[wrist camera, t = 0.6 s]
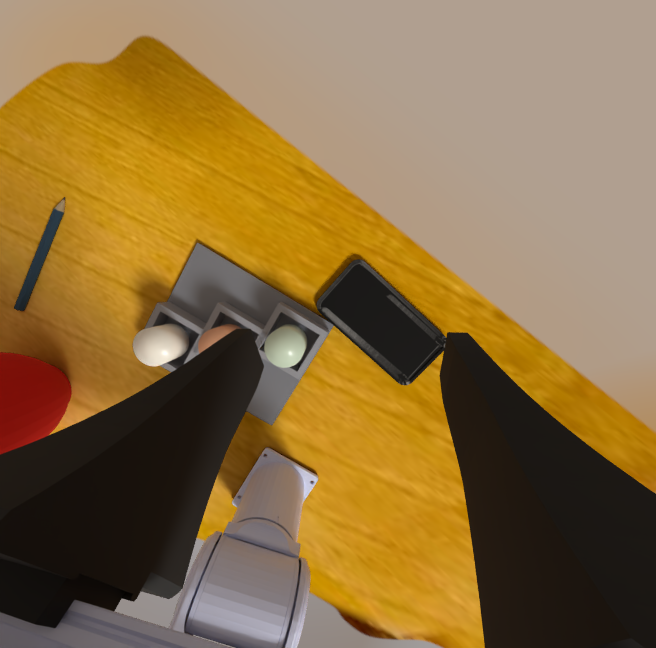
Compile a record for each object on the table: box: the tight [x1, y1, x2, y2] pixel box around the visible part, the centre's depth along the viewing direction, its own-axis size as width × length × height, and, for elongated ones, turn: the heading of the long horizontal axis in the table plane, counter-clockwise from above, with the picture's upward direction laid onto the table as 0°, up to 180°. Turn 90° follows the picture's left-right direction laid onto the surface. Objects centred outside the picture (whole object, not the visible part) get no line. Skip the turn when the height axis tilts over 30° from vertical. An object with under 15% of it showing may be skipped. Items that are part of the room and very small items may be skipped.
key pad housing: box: [133, 243, 334, 425], centre depth 31 cm, size 15×18×3 cm
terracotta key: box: [198, 324, 241, 353], centre depth 28 cm, size 4×4×3 cm
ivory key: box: [133, 324, 189, 366], centre depth 29 cm, size 4×4×3 cm
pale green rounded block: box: [264, 324, 307, 368], centre depth 28 cm, size 4×4×3 cm
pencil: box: [14, 197, 65, 311], centre depth 31 cm, size 1×1×15 cm
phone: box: [317, 260, 446, 385], centre depth 31 cm, size 8×1×15 cm
